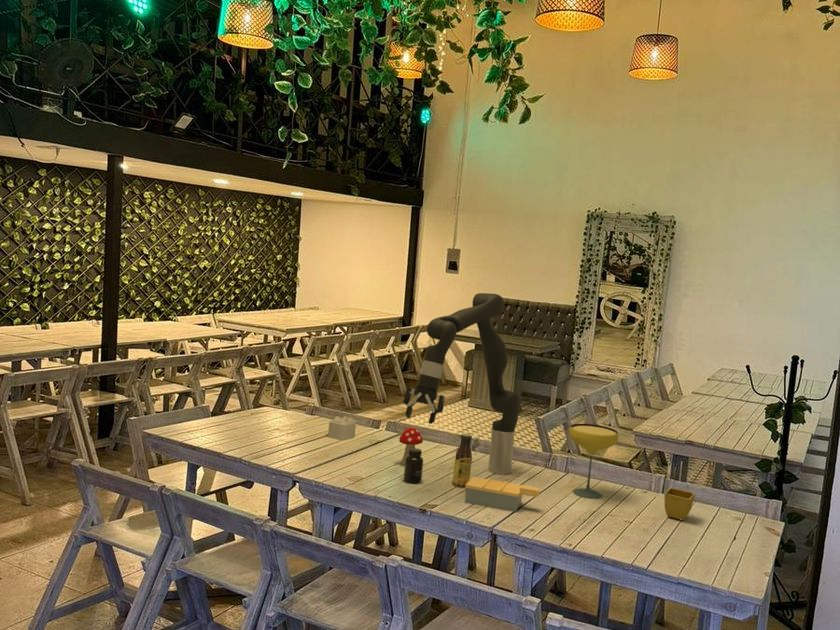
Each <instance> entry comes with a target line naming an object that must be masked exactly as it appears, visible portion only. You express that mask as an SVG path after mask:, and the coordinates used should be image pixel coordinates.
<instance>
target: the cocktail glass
mask: <svg viewBox="0 0 840 630" xmlns="http://www.w3.org/2000/svg"><path fill="white" fill-rule="evenodd" d="M568 435H569V437H570V438H571V440H572V441H573V442H574V443H575V444H577V445H578V446H580V447H581V448H583V449H584V450H585V451H586V453H587V454H588V455H589V457H590V458H589V467H588V473H587V474H588V475H587V482H586V487H585V488H582V487H581V488H575V489H573V490H572V493H573V494H574V495H575V496H577V497H581V498H584V499H585V498H586V499H592V498H596V499H599V498H602V496H603V494H602V493H600V492H599V491H597V490H594V489H591V488H590V487H591V486H590V483H591V482H590V481H591V471H592V470H591V469H592V461H593V457H594V456H595V455H596V454H597V453H598V452H599V451H603V450H606V449H610V448H611V447H613V446H616V444H617V443H618V440H619V432H618V431H617V430H616V429H614V428H611V427H608V426H604V425H599V424H593V423H592V424H591V423H575V424H574V423H573V424H572V425H570V427H569V432H568Z"/></svg>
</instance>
